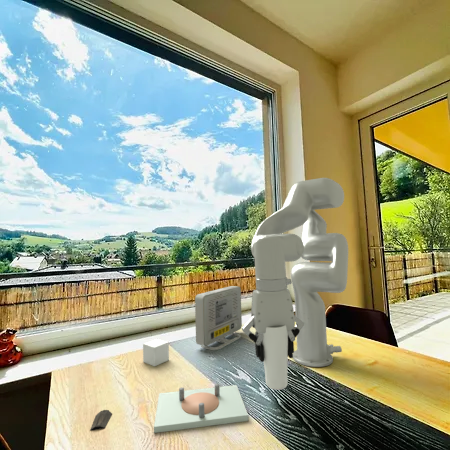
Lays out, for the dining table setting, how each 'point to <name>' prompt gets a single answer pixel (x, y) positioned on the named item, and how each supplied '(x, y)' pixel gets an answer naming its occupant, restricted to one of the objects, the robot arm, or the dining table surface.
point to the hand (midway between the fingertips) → (275, 357)
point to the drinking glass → (276, 357)
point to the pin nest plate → (199, 408)
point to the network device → (218, 316)
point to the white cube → (155, 352)
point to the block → (101, 420)
